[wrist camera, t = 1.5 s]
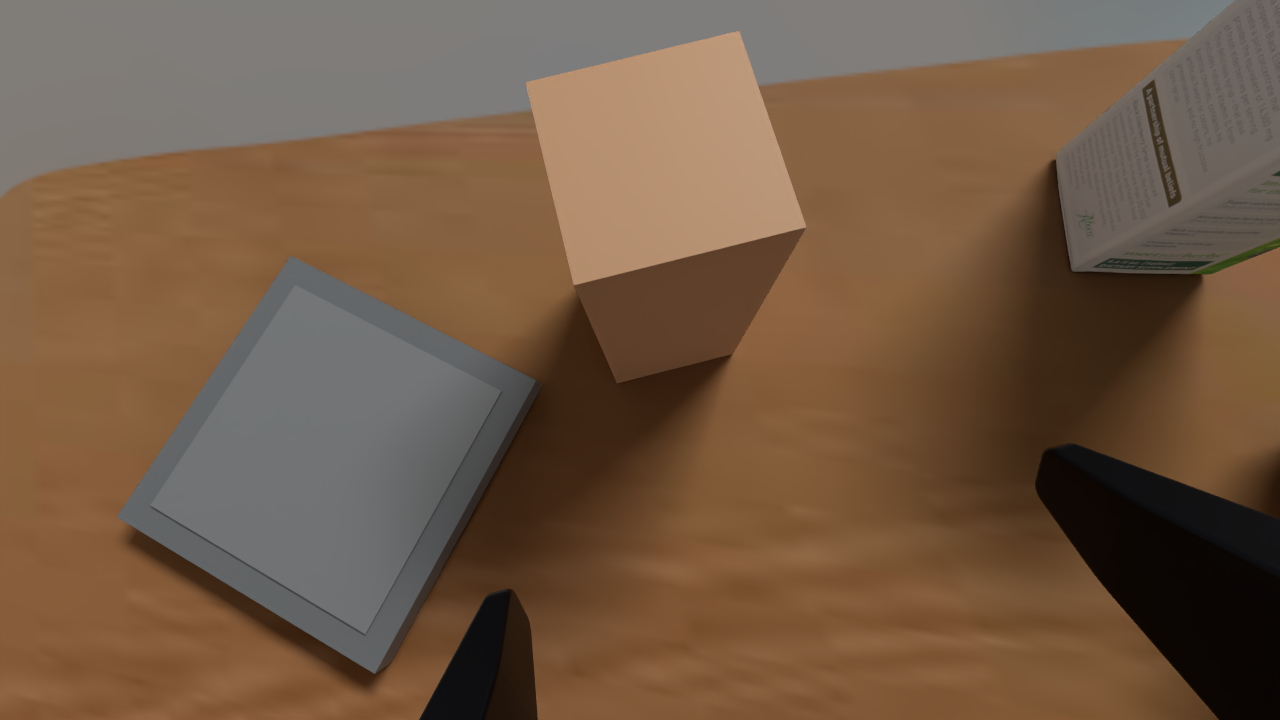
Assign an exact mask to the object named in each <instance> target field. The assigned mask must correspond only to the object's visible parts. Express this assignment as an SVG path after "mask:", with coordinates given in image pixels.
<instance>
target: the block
mask: <svg viewBox="0 0 1280 720" xmlns="http://www.w3.org/2000/svg"><path fill="white" fill-rule="evenodd" d="M526 86H527V90H528V94H529V99H530V103H531V107H532V111H533V115H534V120H535V124H536V128H537V132H538V136H539V141H540V145H541V149H542V153H543V157H544V162H545V166H546V170H547V174H548V178H549V183H550V187H551V191H552V195H553V199H554V204H555V208H556V212H557V216H558V221H559V225H560V229H561V233H562V237H563V242H564V246H565V250H566V254H567V258H568V263H569V267H570V271H571V275H572V279H573V284H574V287H575V289H576V291H577V293H578V296H579V298H580V300H581V303H582V305H583V307H584V309H585V312H586V314H587V316H588V319H589V321H590V323H591V325H592V328H593V330H594V332H595V335H596V337H597V339H598V341H599V344H600V346H601V348H602V350H603V353H604V355H605V357H606V360H607V362H608V364H609V366H610V369H611V371H612V373H613V376H614V378H615V380H616V382H617V383H621V382H625V381H629V380H633V379H637V378H641V377H645V376H649V375H652V374H656V373H660V372H664V371H668V370H672V369H676V368H680V367H684V366H688V365H692V364H696V363H700V362H704V361H708V360H712V359H716V358H720V357H723V356H727V355H731V354H733V353H734V351H735V349H736V348H737V346H738V344H739V343H740V341H741V339H742V337H743V336H744V334H745V332H746V330H747V329H748V327H749V325H750V324H751V322H752V320H753V318H754V317H755V315H756V313H757V311H758V310H759V308H760V306H761V305H762V303H763V301H764V299H765V298H766V296H767V294H768V293H769V291H770V289H771V287H772V286H773V284H774V282H775V280H776V279H777V277H778V275H779V274H780V272H781V270H782V268H783V267H784V265H785V263H786V261H787V260H788V258H789V256H790V255H791V253H792V251H793V249H794V248H795V246H796V244H797V243H798V241H799V239H800V237H801V236H802V234H803V232H804V230H805V229H806V225H805V222H804V219H803V216H802V213H801V210H800V207H799V204H798V201H797V198H796V196H795V193H794V190H793V187H792V184H791V181H790V178H789V175H788V172H787V169H786V166H785V163H784V160H783V158H782V155H781V152H780V149H779V146H778V143H777V140H776V137H775V134H774V131H773V128H772V125H771V123H770V120H769V117H768V114H767V111H766V108H765V105H764V102H763V99H762V96H761V93H760V90H759V88H758V85H757V82H756V79H755V76H754V73H753V70H752V67H751V65H750V61H749V58H748V56H747V52H746V50H745V47H744V44H743V41H742V38H741V35H740V32H739V31H737V32H732V33H728V34H724V35H720V36H716V37H712V38H708V39H704V40H699V41H695V42H691V43H687V44H683V45H678V46H674V47H670V48H667V49H662V50H658V51H654V52H650V53H645V54H642V55H638V56H633V57H629V58H625V59H621V60H617V61H613V62H608V63H604V64H601V65H596V66H592V67H588V68H584V69H579V70H575V71H571V72H567V73H563V74H559V75H555V76H550V77H546V78H542V79H538V80H534V81H530V82H526Z"/></svg>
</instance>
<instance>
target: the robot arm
mask: <svg viewBox="0 0 1280 720" xmlns="http://www.w3.org/2000/svg"><path fill="white" fill-rule="evenodd" d="M1035 488H1036V491H1037V494H1038V496H1039V498H1040V500H1041V501H1042V502H1043V504H1044V505H1045V507H1046V508H1047V509H1048V511H1049V512H1050V514H1051V515H1052V516H1053V518H1054V519H1055V521H1056V522H1057V523H1058V525H1059V526H1060V528H1061V529H1062V530H1063V532H1064V533H1065V535H1066V536H1067V537H1068V539H1069V540H1070V542H1071V543H1072V544H1073V546H1074V547H1075V549H1076V550H1077V551H1078V553H1079V554H1080V556H1081V557H1082V558H1083V560H1084V561H1085V562H1086V564H1087V565H1088V567H1089V568H1090V569H1091V571H1092V572H1093V573H1094V575H1095V576H1096V577H1097V578H1098V580H1099V581H1100V582H1101V583H1102V585H1103V586H1104V587H1105V588H1106V590H1107V591H1108V592H1109V593H1110V594H1111V595H1112V597H1113V598H1114V599H1115V600H1116V601H1117V602H1118V604H1119V605H1120V606H1121V607H1122V608H1123V609H1124V610H1125V612H1126V613H1127V614H1128V615H1129V616H1130V617H1131V619H1132V620H1133V621H1134V622H1135V623H1136V624H1137V626H1138V627H1139V628H1140V629H1141V630H1142V631H1143V632H1144V634H1145V635H1146V636H1147V637H1148V638H1149V639H1150V641H1151V642H1152V643H1153V644H1154V645H1155V646H1156V647H1157V649H1158V650H1159V651H1160V652H1161V653H1162V654H1163V656H1164V657H1165V658H1166V659H1167V660H1168V661H1169V662H1170V664H1171V665H1172V666H1173V667H1174V668H1175V669H1176V671H1177V672H1178V673H1179V674H1180V675H1181V676H1182V677H1183V679H1184V680H1185V681H1186V682H1187V683H1188V684H1189V686H1190V687H1191V688H1192V689H1193V690H1194V691H1195V692H1196V694H1197V695H1198V696H1199V697H1200V698H1201V699H1202V701H1203V702H1204V703H1205V704H1206V705H1207V706H1208V707H1209V709H1210V710H1211V711H1212V712H1213V713H1214V714H1215V716H1216V717H1217V718H1218V719H1219V720H1280V519H1278V518H1275V517H1272V516H1269V515H1267V514H1264V513H1261V512H1259V511H1256V510H1253V509H1250V508H1248V507H1245V506H1242V505H1240V504H1237V503H1234V502H1232V501H1229V500H1226V499H1223V498H1221V497H1218V496H1215V495H1213V494H1210V493H1207V492H1204V491H1202V490H1199V489H1196V488H1194V487H1191V486H1188V485H1185V484H1183V483H1180V482H1177V481H1175V480H1172V479H1169V478H1166V477H1164V476H1161V475H1158V474H1156V473H1153V472H1150V471H1147V470H1145V469H1142V468H1139V467H1137V466H1134V465H1131V464H1128V463H1126V462H1123V461H1120V460H1118V459H1115V458H1112V457H1109V456H1107V455H1104V454H1101V453H1099V452H1096V451H1093V450H1091V449H1088V448H1085V447H1082V446H1080V445H1076V444H1072V443H1067V444H1062V445H1058V446H1054V447H1050V448H1047V449H1046V450H1045V451H1044V452H1043V453H1042V456H1041V460H1040V464H1039V468H1038V473H1037V477H1036V481H1035ZM419 720H538V718H537V704H536V691H535V677H534V664H533V651H532V638H531V628H530V623H529V619H528V617H527V615H526V613H525V611H524V609H523V607H522V605H521V603H520V601H519V599H518V597H517V595H516V593H515V592H514V591H513V590H512V589H505V590H501V591H498V592H494V593H491V594H489V595H487V596H486V597H485V599H484V600H483V602H482V604H481V606H480V608H479V610H478V611H477V613H476V615H475V617H474V619H473V621H472V623H471V624H470V626H469V628H468V630H467V632H466V634H465V636H464V637H463V639H462V641H461V643H460V645H459V647H458V649H457V650H456V652H455V654H454V656H453V658H452V660H451V662H450V663H449V665H448V667H447V669H446V671H445V673H444V675H443V676H442V678H441V680H440V682H439V684H438V686H437V688H436V689H435V691H434V693H433V695H432V697H431V699H430V701H429V702H428V704H427V706H426V708H425V710H424V712H423V714H422V715H421V717H420V719H419Z"/></svg>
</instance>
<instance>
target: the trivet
mask: <svg viewBox="0 0 1280 720" xmlns="http://www.w3.org/2000/svg"><path fill="white" fill-rule="evenodd" d="M541 387H542V385H541V384H540V383H539V382H538V381H536V380H535V379H533V378H531V377H529V376H527V375H525V374H523V373H521V372H519V371H517V370H515V369H513V368H511V367H509V366H507V365H505V364H503V363H501V362H499V361H497V360H495V359H493V358H491V357H489V356H487V355H485V354H483V353H481V352H479V351H477V350H476V349H474V348H472V347H470V346H468V345H466V344H464V343H462V342H460V341H458V340H456V339H454V338H452V337H450V336H448V335H446V334H444V333H442V332H440V331H438V330H436V329H434V328H432V327H430V326H428V325H426V324H424V323H422V322H420V321H418V320H416V319H414V318H412V317H410V316H409V315H407V314H405V313H403V312H401V311H399V310H397V309H395V308H393V307H391V306H389V305H387V304H385V303H383V302H381V301H379V300H377V299H375V298H373V297H371V296H369V295H367V294H365V293H363V292H361V291H359V290H357V289H355V288H353V287H351V286H349V285H347V284H345V283H343V282H342V281H340V280H338V279H336V278H334V277H332V276H330V275H328V274H326V273H324V272H322V271H320V270H318V269H316V268H314V267H312V266H310V265H308V264H306V263H304V262H302V261H300V260H298V259H296V258H294V257H292V256H290V258H289V259H288V261H287V262H286V264H285V265H284V267H283V268H282V270H281V271H280V273H279V274H278V276H277V277H276V279H275V280H274V282H273V283H272V285H271V286H270V288H269V289H268V291H267V292H266V294H265V295H264V297H263V298H262V300H261V301H260V303H259V304H258V306H257V307H256V309H255V310H254V312H253V313H252V315H251V316H250V318H249V319H248V321H247V322H246V324H245V325H244V327H243V328H242V330H241V331H240V333H239V334H238V336H237V337H236V339H235V340H234V342H233V343H232V345H231V346H230V348H229V349H228V351H227V352H226V354H225V355H224V357H223V358H222V360H221V361H220V363H219V364H218V366H217V367H216V369H215V370H214V372H213V373H212V375H211V376H210V378H209V379H208V381H207V382H206V384H205V385H204V387H203V388H202V390H201V391H200V393H199V394H198V396H197V397H196V399H195V400H194V402H193V403H192V405H191V406H190V408H189V409H188V411H187V412H186V414H185V415H184V417H183V418H182V420H181V421H180V423H179V424H178V426H177V427H176V429H175V430H174V432H173V433H172V435H171V436H170V438H169V439H168V441H167V442H166V444H165V445H164V447H163V448H162V450H161V451H160V453H159V454H158V456H157V457H156V459H155V460H154V462H153V463H152V465H151V466H150V468H149V469H148V471H147V472H146V474H145V475H144V477H143V478H142V480H141V481H140V483H139V484H138V486H137V487H136V489H135V490H134V492H133V493H132V495H131V496H130V498H129V499H128V501H127V502H126V504H125V505H124V507H123V508H122V510H121V511H120V513H119V514H118V516H117V517H118V518H119V519H121V520H123V521H124V522H126V523H127V524H129V525H131V526H132V527H134V528H136V529H137V530H139V531H141V532H142V533H144V534H146V535H147V536H149V537H150V538H152V539H154V540H155V541H157V542H159V543H160V544H162V545H164V546H165V547H167V548H169V549H170V550H172V551H173V552H175V553H177V554H178V555H180V556H182V557H183V558H185V559H187V560H188V561H190V562H192V563H193V564H195V565H196V566H198V567H200V568H201V569H203V570H205V571H206V572H208V573H210V574H211V575H213V576H215V577H216V578H218V579H219V580H221V581H223V582H224V583H226V584H228V585H229V586H231V587H233V588H234V589H236V590H238V591H239V592H241V593H242V594H244V595H246V596H247V597H249V598H251V599H252V600H254V601H256V602H257V603H259V604H260V605H262V606H264V607H265V608H267V609H269V610H270V611H272V612H274V613H275V614H277V615H279V616H280V617H282V618H283V619H285V620H287V621H288V622H290V623H292V624H293V625H295V626H297V627H298V628H300V629H302V630H303V631H305V632H306V633H308V634H310V635H311V636H313V637H315V638H316V639H318V640H320V641H321V642H323V643H325V644H326V645H328V646H329V647H331V648H333V649H334V650H336V651H338V652H339V653H341V654H343V655H344V656H346V657H348V658H349V659H351V660H352V661H354V662H356V663H357V664H359V665H361V666H362V667H364V668H366V669H367V670H369V671H371V672H372V673H374V674H376V673H377V672H378V671H380V670H381V669H383V668H384V667H386V666H387V665H389V664H390V663H391V661H392V660H393V658H394V656H395V654H396V652H397V650H398V649H399V647H400V645H401V643H402V641H403V639H404V638H405V636H406V634H407V632H408V630H409V628H410V627H411V625H412V623H413V621H414V619H415V618H416V616H417V614H418V612H419V610H420V608H421V607H422V605H423V603H424V601H425V599H426V597H427V596H428V594H429V592H430V590H431V588H432V586H433V585H434V583H435V581H436V579H437V577H438V575H439V574H440V572H441V570H442V568H443V566H444V564H445V563H446V561H447V559H448V557H449V555H450V554H451V552H452V550H453V548H454V546H455V544H456V543H457V541H458V539H459V537H460V535H461V533H462V532H463V530H464V528H465V526H466V524H467V522H468V521H469V519H470V517H471V515H472V513H473V511H474V510H475V508H476V506H477V504H478V502H479V500H480V499H481V497H482V495H483V493H484V491H485V489H486V488H487V486H488V484H489V482H490V480H491V479H492V477H493V475H494V473H495V471H496V469H497V468H498V466H499V464H500V462H501V460H502V458H503V457H504V455H505V453H506V451H507V449H508V447H509V446H510V444H511V442H512V440H513V438H514V436H515V435H516V433H517V431H518V429H519V427H520V425H521V424H522V422H523V420H524V418H525V416H526V414H527V413H528V411H529V409H530V407H531V405H532V404H533V402H534V400H535V398H536V396H537V394H538V393H539V391H540V389H541Z"/></svg>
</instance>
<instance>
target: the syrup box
mask: <svg viewBox="0 0 1280 720" xmlns="http://www.w3.org/2000/svg"><path fill="white" fill-rule="evenodd" d="M1056 167H1057V178H1058V187H1059V195H1060V201H1061V208H1062V215H1063V221H1064V228H1065V234H1066V240H1067V246H1068V253H1069V259H1070V263H1071V269H1072V271H1075V272H1086V271H1093V272H1115V273H1149V274H1213V273H1215V272H1218V271H1220V270H1222V269H1225V268H1227V267H1230V266H1232V265H1235V264H1237V263H1240V262H1242V261H1245V260H1247V259H1250V258H1253V257H1255V256H1258V255H1260V254H1263V253H1265V252H1268V251H1271V250H1273V249H1276V248H1278V247H1280V0H1235V1H1234V2H1233V3H1232V4H1230V5H1229V6H1228V7H1226V8H1225V9H1224V10H1223V11H1222V12H1221V13H1220V14H1219V15H1217V16H1216V17H1215V18H1214V19H1213V20H1211V21H1210V22H1209V23H1208V24H1207V25H1206V26H1205V27H1203V28H1202V29H1201V30H1200V31H1199V32H1197V33H1196V34H1195V35H1194V36H1193V37H1192V38H1191V39H1189V40H1188V41H1187V42H1186V43H1185V44H1184V45H1182V46H1181V47H1180V48H1179V49H1178V50H1177V51H1176V52H1174V53H1173V54H1172V55H1171V56H1170V57H1168V58H1167V59H1166V60H1165V61H1164V62H1162V63H1161V64H1160V65H1159V66H1158V67H1157V68H1156V69H1154V70H1153V71H1152V72H1151V73H1150V74H1149V75H1148V76H1146V77H1145V78H1144V79H1143V80H1142V81H1140V82H1139V83H1138V84H1137V85H1136V86H1135V87H1133V88H1132V89H1131V90H1130V91H1129V92H1127V93H1126V94H1125V95H1124V96H1123V97H1122V98H1120V99H1119V100H1118V101H1117V102H1116V103H1114V104H1113V105H1112V106H1111V107H1110V108H1109V109H1107V110H1106V111H1105V112H1104V113H1103V114H1102V115H1100V116H1099V117H1098V118H1097V119H1096V120H1095V121H1094V122H1092V123H1091V124H1090V125H1089V126H1088V127H1086V128H1085V129H1084V130H1083V131H1082V132H1080V133H1079V134H1078V135H1077V136H1076V137H1075V138H1073V139H1072V140H1071V141H1070V142H1069V143H1068V144H1066V145H1065V146H1064V147H1063V148H1062V149H1061V150H1060V151H1059V152H1058V153H1057V154H1056Z"/></svg>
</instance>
